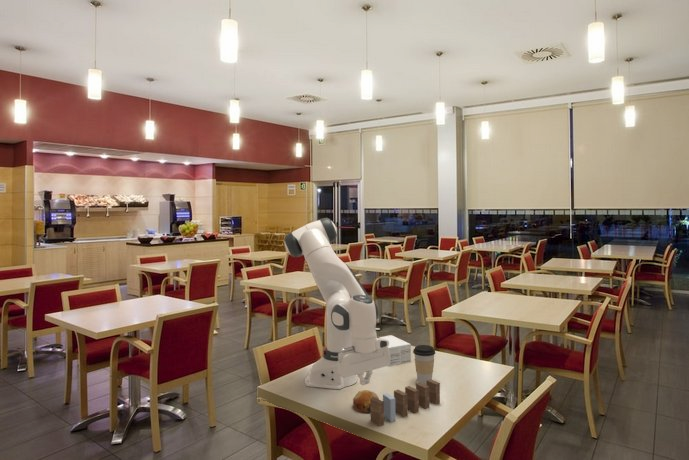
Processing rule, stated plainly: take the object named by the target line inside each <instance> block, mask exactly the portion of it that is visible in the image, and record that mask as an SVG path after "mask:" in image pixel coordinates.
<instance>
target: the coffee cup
mask: <svg viewBox="0 0 689 460" xmlns="http://www.w3.org/2000/svg"><path fill="white" fill-rule="evenodd" d="M412 354H414V363H415V364H414V365H415V366H414V367H415V371H416V372H415V373H416V377H417V383H419V382H420V383H422V384H425V385H427V383H426V380H429V379H431V380H433V374H434V367H435V365H434V363H435V355H436V350H435V348H434V347H433V346H432V345H427V344H419V345H416V346H414V348H413V350H412Z"/></svg>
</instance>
